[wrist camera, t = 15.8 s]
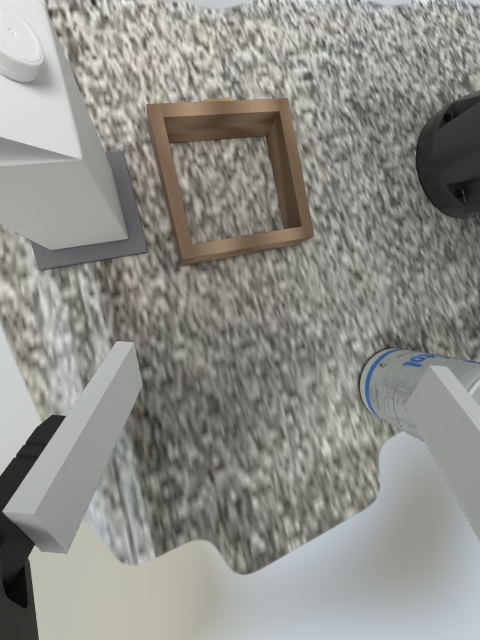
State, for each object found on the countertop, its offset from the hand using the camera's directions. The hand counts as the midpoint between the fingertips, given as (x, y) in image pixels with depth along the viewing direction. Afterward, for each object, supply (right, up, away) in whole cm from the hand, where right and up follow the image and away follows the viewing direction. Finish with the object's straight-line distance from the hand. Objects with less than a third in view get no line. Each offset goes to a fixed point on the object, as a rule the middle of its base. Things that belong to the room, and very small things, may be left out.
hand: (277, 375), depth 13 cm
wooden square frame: (-3, +17, +18) cm, 25 cm away
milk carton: (-17, +13, +14) cm, 26 cm away
